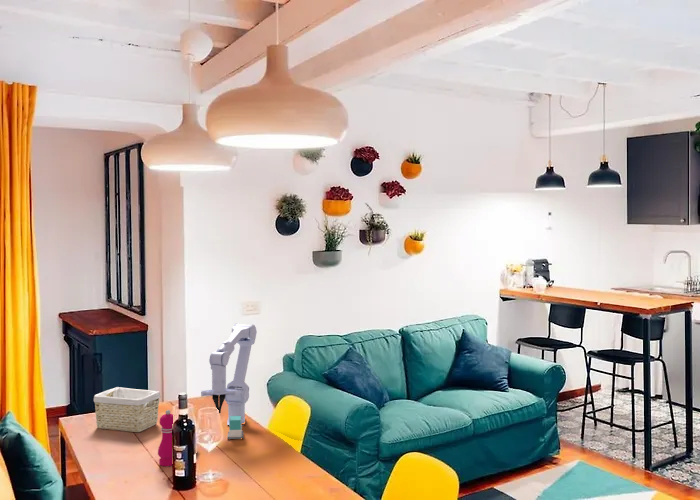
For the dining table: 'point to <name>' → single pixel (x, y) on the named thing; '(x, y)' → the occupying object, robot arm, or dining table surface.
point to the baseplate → (234, 437)
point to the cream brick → (235, 433)
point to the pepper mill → (166, 440)
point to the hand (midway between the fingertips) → (218, 412)
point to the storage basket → (126, 409)
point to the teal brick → (235, 423)
